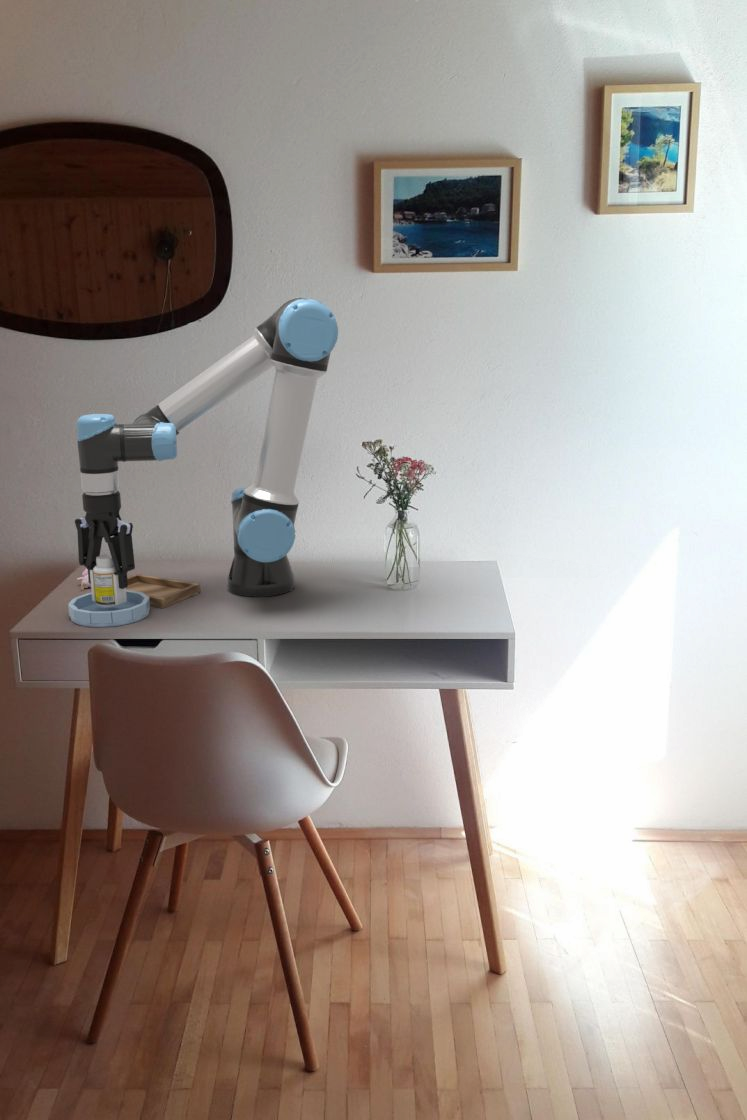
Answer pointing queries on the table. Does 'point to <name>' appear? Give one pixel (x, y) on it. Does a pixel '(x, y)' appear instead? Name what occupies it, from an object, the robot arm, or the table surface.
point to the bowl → (109, 610)
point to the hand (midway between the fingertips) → (109, 600)
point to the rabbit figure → (85, 580)
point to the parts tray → (162, 589)
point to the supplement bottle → (104, 581)
